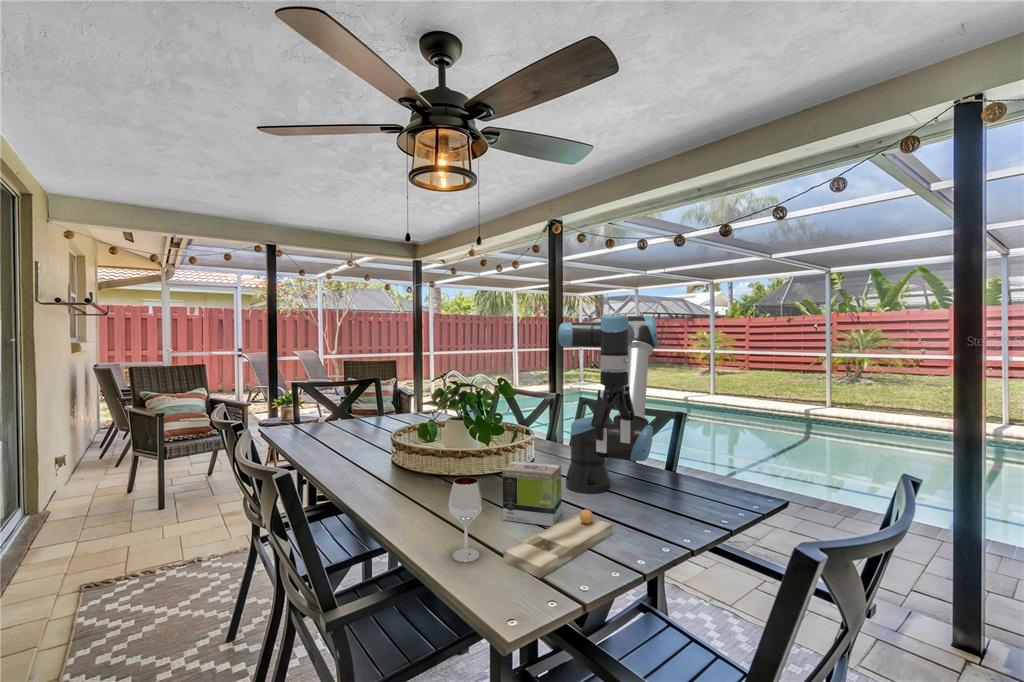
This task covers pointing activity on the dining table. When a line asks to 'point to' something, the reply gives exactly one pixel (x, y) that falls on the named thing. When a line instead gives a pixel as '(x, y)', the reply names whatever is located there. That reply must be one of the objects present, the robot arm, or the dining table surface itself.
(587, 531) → the board
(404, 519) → the dining table surface
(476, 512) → the wineglass
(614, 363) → the robot arm
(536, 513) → the tea box
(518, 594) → the dining table surface
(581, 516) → the ball
